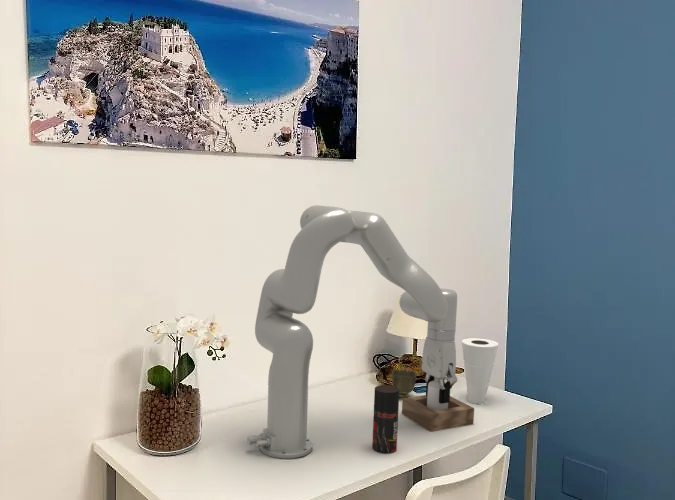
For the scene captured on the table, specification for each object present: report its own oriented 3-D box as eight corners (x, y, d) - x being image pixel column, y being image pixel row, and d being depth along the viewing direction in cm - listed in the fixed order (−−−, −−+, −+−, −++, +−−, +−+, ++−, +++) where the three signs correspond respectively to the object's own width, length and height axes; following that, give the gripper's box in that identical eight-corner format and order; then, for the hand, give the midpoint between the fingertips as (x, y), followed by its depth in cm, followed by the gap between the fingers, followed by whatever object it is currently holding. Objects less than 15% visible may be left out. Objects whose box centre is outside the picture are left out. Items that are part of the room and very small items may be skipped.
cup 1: (416, 402, 198) (417, 375, 197) (391, 401, 198) (392, 374, 197) (413, 393, 205) (415, 368, 204) (389, 393, 205) (391, 367, 204)
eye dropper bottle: (437, 415, 180) (439, 372, 179) (424, 408, 185) (426, 366, 184) (449, 413, 183) (452, 370, 181) (436, 406, 187) (439, 364, 186)
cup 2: (467, 393, 208) (470, 336, 206) (500, 400, 202) (503, 342, 200) (452, 401, 199) (455, 342, 197) (485, 410, 193) (489, 349, 191)
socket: (430, 431, 175) (431, 414, 174) (401, 413, 187) (402, 398, 187) (473, 424, 181) (474, 408, 181) (442, 407, 194) (443, 392, 193)
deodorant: (393, 455, 159) (396, 394, 158) (369, 451, 161) (372, 390, 159) (398, 445, 165) (401, 386, 163) (375, 442, 166) (377, 383, 165)
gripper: (412, 328, 188) (408, 391, 189) (448, 342, 172) (444, 411, 174) (434, 326, 191) (430, 388, 193) (472, 340, 176) (467, 407, 178)
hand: (437, 398), depth 184 cm, fingers closed on eye dropper bottle, 5 cm apart
